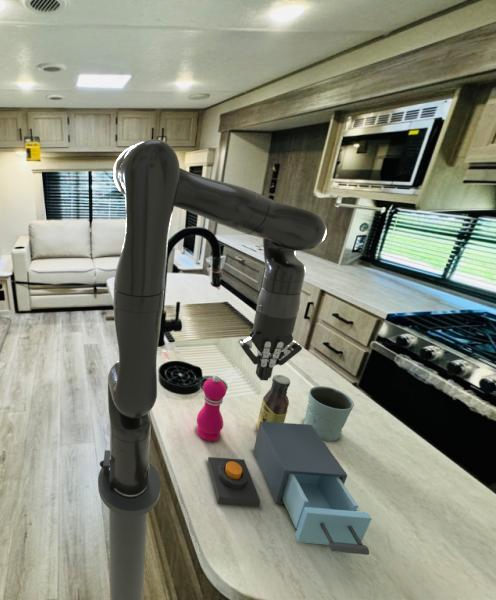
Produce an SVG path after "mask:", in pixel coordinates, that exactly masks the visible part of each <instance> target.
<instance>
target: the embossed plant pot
mask: <svg viewBox="0 0 496 600" xmlns="http://www.w3.org/2000/svg"><path fill="white" fill-rule="evenodd" d="M307 398H308V400H307V406H306V409H305V410H306V412H305V417H304V421H303V424H309V425H312V426H313V428H314V429H315V430H316V432H317V433H318V435H319V436H320V437H321V439H322V440H323V441H326V442H335V441H337V440H338V439H339V437H340V436H341V433H342V431H343V430H342V429H343V428H344V427H345V425H346V423H347V420H348V418H349V416H350V414H351V412H352V411H353V408H354V406H355V403H354V401H353V400H352V398H351V397H350V396H349V395H347V394H346V393H344V392H343V391H342V390H339V389H336V388H333V387H330V386H325V385H324V386H323V385H319V386H313V387H311V388H310V389H309V391H308V397H307Z"/></svg>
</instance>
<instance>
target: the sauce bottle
mask: <svg viewBox="0 0 496 600" xmlns="http://www.w3.org/2000/svg"><path fill="white" fill-rule="evenodd" d="M271 381H272V383H271V387H270V389H269V390H268V391H267V392H266V394H265V395H264V396H263V398H262V402H261V406H260V410H259V415H258V418H257V421H256V422H257V423H256V433H258V428H259V424H260V422H275V423H285V421H286V417H287V413H288V408H289V405H290V400H289V397H288V395H287V394H288V388H289V387H290V386H291V385H290V384H291V379H290V378H289V377H288V376H286V375H283V374H275V375H273V377H272V379H271Z"/></svg>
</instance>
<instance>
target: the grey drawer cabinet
mask: <svg viewBox="0 0 496 600" xmlns="http://www.w3.org/2000/svg"><path fill="white" fill-rule="evenodd" d="M252 453H253V455H254V457H255V459H256V462H257V464H258V466H259V468H260V470H261V473H262V475H263V477H264V479H265V482H266V484H267V487H268V489H269V491H270V493H271V496H272V498H273V501H274V502H275V504H276V505H285V504H284V502H283V500H282V493H283V490H284V486H285V483H286V479H287V476H288V473H292V474H305V475H318V476H332V477H339V478H340V479H341V481H342V482H343V484H344V485H345V484H346V481H347V478H348V474H347V472H346V471H345V470H344V467H343V466H342V465H341V464H340V462H339V461H338V459H337V458H336V457H335V455H334V454H333V453H332V451H331V449H330V448H329V447H328V446H327V445H326V443H325V441H324V440H322V439H321V437H320V436H319V435H318V433H317V432H316V430H315V429H314V428H313V426H312V425H309V424H304V423H292V422H291V423H290V422H284V423H275V422H260V424H259V428H258V432H256V437H255V442H254V447H253V452H252Z"/></svg>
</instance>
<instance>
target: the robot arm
mask: <svg viewBox="0 0 496 600" xmlns="http://www.w3.org/2000/svg"><path fill="white" fill-rule="evenodd" d="M113 181H114V184H115V186H116V188H117V189H118V191H119V192H120V193H121V194H122V195H123V197H125V233H124V234H125V235H124V239H123V240H124V241H123V245H122V249H121V252H120V254H119V258H118V261H117V266H116V269H115V275H114V282H113V319H114V328H115V335H116V339H117V340H116V341H117V346H118V360H117V362H115V363H114V364H113V365H112V366H111V368H110V370H109V371H108V376H107V404H108V405H107V406H108V408H107V409H108V416H109V417H108V418H109V445H110V446H109V450H107V449H105V450H104V454H103V460H101V461H100V462H99V466H100V468H103V475H110V490H113V491H115V492H116V493H117V494H119V495H120V496H122V497H125V498H136V497H139V496H141V495H142V494H143V493H144V492H145V491H146V489H147V487H148V474H149V471H148V470H149V465H150V464H151V463H150V451H151V450H150V449H151V434H152V433H151V430H152V418H151V417H152V416H151V413H150V411H151V410H152V409H153V407H154V406H155V404H156V401H157V398H158V379H157V378H158V377H157V374H158V373H157V356H158V349H159V340H160V333H161V326H162V325H161V323H162V315H163V309H164V300H165V289H166V272H167V264H168V263H167V262H168V261H167V260H168V248H169V246H168V245H169V235H170V228H171V222H172V218H173V212H174V208H177V209H181V210H184V211H187V212H190V213H191V214H195V215H197V216H199V217H201V218H205V219H207V220H210V221H211V222H214V223H215V224H219V225H221V226H224V227H226V228H229V229H231V230H234V231H238V232H240V233H243V234H245V235H249V236H253V237H258V238H262V245H263V246H262V247H263V256H264V257H263V259H264V266H265V267H264V268H265V269H264V273H263V278H262V283H261V284H262V285H261V287H260V291H259V294H258V297H257V304H256V309H255V314H254V320H253V324H252V325H253V327H252V330H251V332H250V333H249V336H248V337H247V338H245V339H243V338H240V339H239V340H238V341H237V343H238V344H239V346H240V347H241V349H242V350H243V351H244V353H245V354H246V355H247V357H248V359H249V360H250V361H251V363H252V364H253V365H256V368H255V375H256V377H257V378H258V379H259V381H265V382H266V381H269V379H271V378H272V374H273V370H274V367H275V366H283V365H285V364H286V363H287V362H288V361H290V360H291V359H292V358H293V357H294V356H296V355H297V354H299V352H301V351H302V350H303V346H301V345H300V344H299V342H297V341H296V340H294V337H293V334H294V330H295V326H296V322H297V318H298V314H299V310H300V305H301V296H302V290H303V285H304V282H305V278H306V271H307V268H306V265H305V264H304V263H303V262H302V261H301V260H299V259H298V258H297V255H296V252H305V251H307V252H308V251H310V250H312V249H314V248H316V247H318V246H319V245H321V244H322V243H323V241H324V240H325V238H326V236H327V224H326V221H325V219H324V218H323V217H322V216H321V215H319V214H318V213H316V212H314V211H311V210H308V209H305V208H302V207H298V206H295V205H290V204H287V203H283V202H279V201H277V200H274V199H272V198H270V197H268V196H266V195H263V194H261V193H259V192H256V191H254V190H251V189H249V188H245V187H243V186H239V185H235V184H232V183H228V182H224V181H221V180H216V179H213V178H209V177H205V176H202V175H199V174H195V173H193V172H190V171H188V170H185V169H184V168H181V167H180V161H179V157H178V155H177V152H176V151H175V150H174V148H173V147H172V146H171V145H170V144H169V143H168V142H166V141H164V140H161V139H155V138H154V139H147V140H144V141H141V142H138V143H135V144H133V145H130V146H129V147H127V148H126V149H124V150H123V151H122V152H121V153H120V155H118V157H117V159H116V160H115V163H114V165H113ZM252 344H253V345H254V346H255V348H256V352H257V354H254V352H253V351H252V348H253V345H252ZM149 463H150V464H149Z"/></svg>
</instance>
